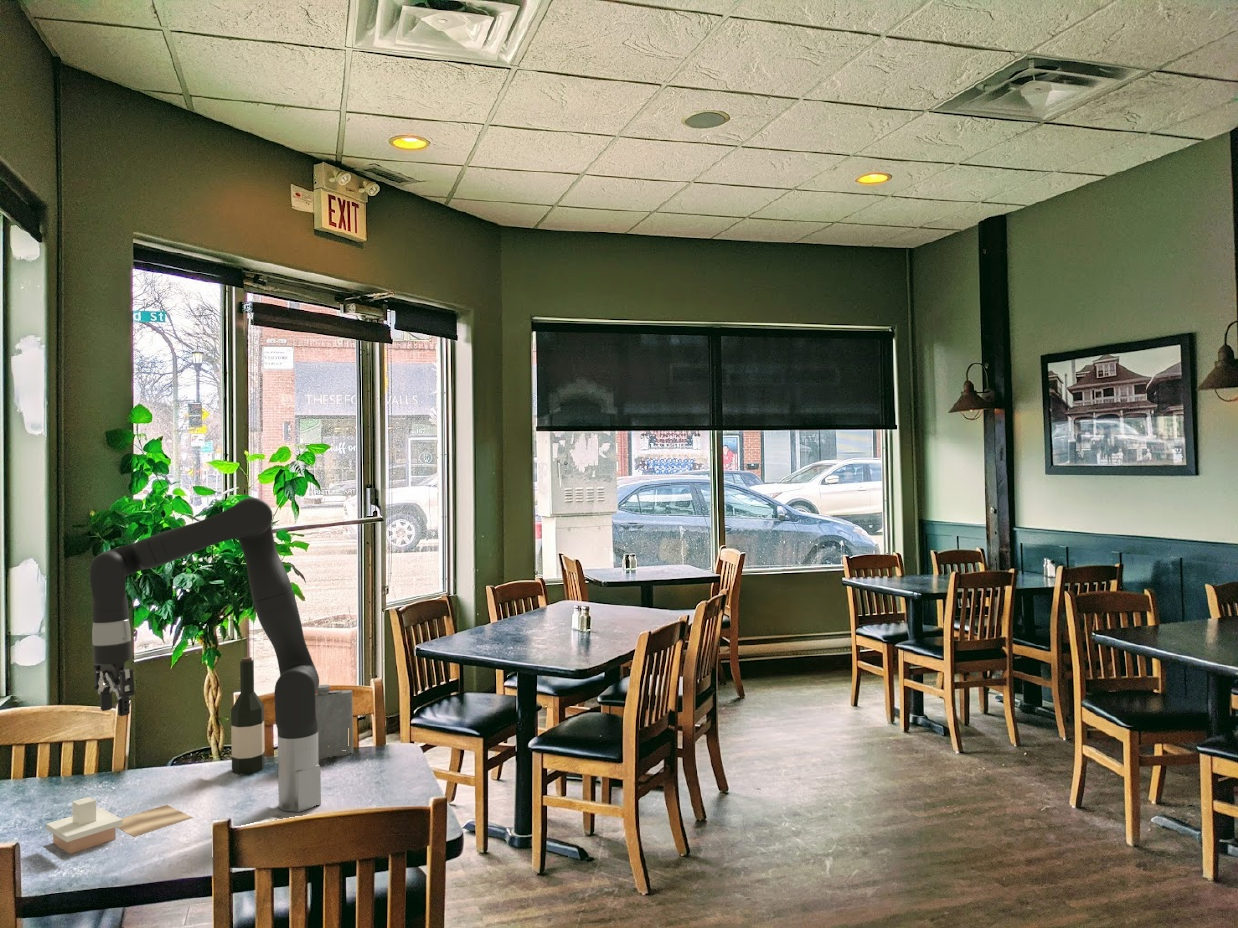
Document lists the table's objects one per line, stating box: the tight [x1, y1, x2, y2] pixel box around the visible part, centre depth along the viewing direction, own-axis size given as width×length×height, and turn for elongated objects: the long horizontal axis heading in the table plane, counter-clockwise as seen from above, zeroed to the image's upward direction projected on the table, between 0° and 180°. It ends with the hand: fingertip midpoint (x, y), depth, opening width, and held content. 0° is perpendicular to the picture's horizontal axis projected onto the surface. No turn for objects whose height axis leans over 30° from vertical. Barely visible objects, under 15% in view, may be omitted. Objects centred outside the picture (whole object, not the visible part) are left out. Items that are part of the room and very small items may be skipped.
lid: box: [45, 796, 123, 842], centre depth 193 cm, size 11×11×6 cm
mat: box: [116, 804, 194, 838], centre depth 204 cm, size 13×13×1 cm
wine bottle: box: [230, 656, 266, 775], centre depth 241 cm, size 8×8×30 cm
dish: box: [52, 827, 117, 855], centre depth 193 cm, size 9×9×4 cm
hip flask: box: [315, 684, 354, 761], centre depth 250 cm, size 16×4×20 cm, turn 124°
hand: (115, 712), depth 200 cm, fingers open, 8 cm apart
